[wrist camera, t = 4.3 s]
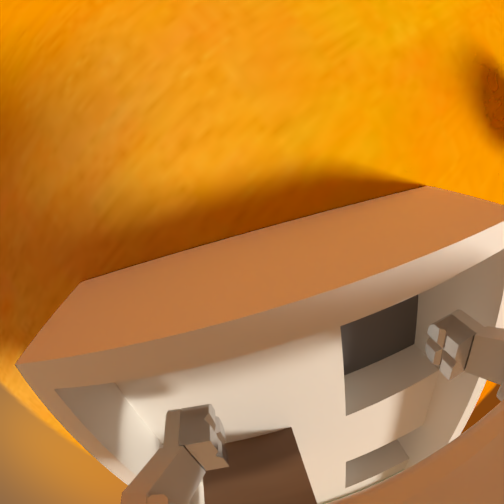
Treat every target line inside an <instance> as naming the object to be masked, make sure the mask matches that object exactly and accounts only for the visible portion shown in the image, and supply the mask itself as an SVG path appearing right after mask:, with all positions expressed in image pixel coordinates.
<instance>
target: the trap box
mask: <svg viewBox="0 0 504 504" xmlns="http://www.w3.org/2000/svg"><path fill="white" fill-rule="evenodd" d="M457 309H459V310H462V311H463V312H465V313H466V314H467V315H469V316H470V317H472V318H473V319H474V320H476V321H477V322H478V323H480V324H481V325H482V326H484V327H487V326H490V327H496V328H503V329H504V205H501V204H497V203H494V202H490V201H487V200H483V199H480V198H476V197H472V196H468V195H465V194H461V193H457V192H452V191H448V190H444V189H440V188H435V187H431V186H424V187H420V188H416V189H412V190H408V191H404V192H400V193H395V194H391V195H387V196H384V197H380V198H376V199H372V200H368V201H364V202H360V203H356V204H352V205H348V206H344V207H341V208H337V209H333V210H329V211H325V212H322V213H318V214H314V215H310V216H306V217H303V218H299V219H295V220H292V221H288V222H284V223H281V224H277V225H273V226H270V227H266V228H262V229H259V230H255V231H252V232H248V233H244V234H241V235H237V236H234V237H230V238H227V239H223V240H220V241H216V242H213V243H209V244H206V245H202V246H199V247H195V248H192V249H188V250H185V251H182V252H178V253H175V254H171V255H168V256H165V257H161V258H158V259H154V260H151V261H148V262H144V263H141V264H138V265H134V266H131V267H128V268H125V269H121V270H118V271H115V272H112V273H108V274H105V275H102V276H99V277H95V278H92V279H89V280H86V281H83V282H80V284H79V285H78V286H77V287H76V288H75V289H74V290H73V291H72V293H71V294H70V295H69V296H68V297H67V298H66V300H65V301H64V302H63V303H62V304H61V305H60V307H59V308H58V309H57V310H56V311H55V313H54V314H53V315H52V316H51V317H50V319H49V320H48V321H47V322H46V324H45V325H44V326H43V327H42V329H41V330H40V331H39V333H38V334H37V335H36V336H35V338H34V339H33V340H32V342H31V343H30V344H29V346H28V347H27V348H26V350H25V351H24V352H23V354H22V355H21V357H20V358H19V359H18V361H17V362H16V364H15V366H16V367H17V369H18V370H19V372H20V373H21V375H22V376H23V377H24V379H25V380H26V381H27V383H28V384H29V386H30V387H31V388H32V390H33V391H34V392H35V393H36V395H37V396H38V397H39V399H40V400H41V401H42V402H43V404H44V405H45V406H46V407H47V408H48V410H49V411H50V412H51V413H52V414H53V415H54V417H55V418H56V419H57V420H58V421H59V422H60V423H61V424H62V425H63V427H64V428H65V429H66V430H67V431H68V432H69V433H70V434H71V435H72V436H73V437H74V438H75V439H76V440H77V441H78V442H79V443H80V444H81V445H82V446H83V447H84V448H85V449H86V450H87V451H88V452H89V453H90V454H91V455H93V456H94V457H95V458H96V459H97V460H98V461H99V462H100V463H101V464H103V465H104V466H105V467H106V468H107V469H108V470H110V471H111V472H112V473H113V474H114V475H116V476H117V477H118V478H119V479H121V480H122V481H123V482H124V483H126V484H127V485H129V484H130V483H131V482H132V481H133V479H134V478H135V477H136V476H137V475H138V473H139V472H140V471H141V470H142V469H143V467H144V466H145V465H146V464H147V463H148V461H149V460H150V459H151V458H152V457H153V455H154V454H155V453H156V452H157V450H158V449H159V448H163V443H164V431H165V420H166V414H167V412H168V410H175V409H182V408H187V407H194V406H200V405H206V404H212V406H213V408H214V409H215V416H217V417H219V418H220V420H221V422H222V424H223V427H224V431H225V435H226V442H225V443H229V442H234V441H238V440H243V439H248V438H252V437H256V436H260V435H264V434H268V433H272V432H276V431H279V430H283V429H286V428H290V427H292V430H293V433H294V436H295V439H296V442H297V445H298V448H299V451H300V454H301V457H302V460H303V463H304V466H305V469H306V472H307V475H308V478H309V481H310V484H311V487H312V490H313V493H314V496H315V499H316V502H317V504H326V503H329V502H332V501H335V500H337V499H340V498H343V497H346V496H348V495H351V494H353V493H356V492H358V491H361V490H363V489H366V488H368V487H370V486H373V485H375V484H377V483H379V482H381V481H383V480H385V479H388V478H390V477H392V476H394V475H396V474H398V473H400V472H401V471H403V470H405V469H407V468H409V467H411V466H413V465H414V464H416V463H418V462H420V461H421V460H423V459H425V458H426V457H428V456H430V455H431V454H433V453H434V452H436V451H438V450H439V449H441V448H442V447H444V446H445V445H447V444H448V443H450V442H451V441H453V440H454V439H455V438H457V437H458V436H460V434H461V432H462V430H463V428H464V426H465V425H466V423H467V420H468V419H469V417H470V415H471V413H472V411H473V409H474V407H475V405H476V403H477V401H478V399H479V396H480V394H481V392H482V390H483V387H484V385H485V383H486V379H483V378H480V377H477V376H475V375H472V374H469V373H466V372H465V371H463V372H462V373H460V374H459V375H457V376H455V377H454V378H452V379H451V380H448V379H447V378H446V377H445V376H444V375H443V374H442V373H441V372H440V371H439V365H435V364H433V363H432V362H431V361H430V360H429V359H428V357H427V354H426V350H425V347H426V342H427V340H428V338H429V337H430V336H429V335H428V334H427V332H428V328H429V326H430V325H431V324H433V323H434V322H436V321H438V320H440V319H441V318H443V317H445V316H447V315H449V314H450V313H452V312H454V311H456V310H457ZM188 504H205V502H204V488H203V478H202V480H201V482H200V484H199V485H198V487H197V489H196V491H195V493H194V495H193V496H192V498H191V500H190V502H189V503H188Z"/></svg>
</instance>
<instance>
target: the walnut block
mask: <svg viewBox="0 0 504 504" xmlns="http://www.w3.org/2000/svg"><path fill="white" fill-rule="evenodd" d="M224 447H225V448H226V450H227V451H228V460H229V467H224V468H219V469H213V470H207V471H205V472H206V473H205V474H204V476H203V488H204V502H205V504H317V502H316V499H315V496H314V493H313V490H312V487H311V484H310V481H309V478H308V475H307V472H306V469H305V466H304V463H303V460H302V457H301V454H300V451H299V448H298V445H297V442H296V439H295V436H294V433H293V430H292V427H290V428H286V429H283V430H279V431H276V432H272V433H268V434H264V435H260V436H256V437H252V438H248V439H243V440H238V441H234V442H229V443H225V444H224Z"/></svg>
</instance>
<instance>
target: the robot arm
mask: <svg viewBox="0 0 504 504" xmlns="http://www.w3.org/2000/svg"><path fill="white" fill-rule="evenodd" d="M427 334H428V335H429V336H430V337H429V338H428V340H427V342H426V347H425V350H426V354H427V357H428V359H429V360H430V361H431V362H432V363H433V364H435V365H439V371H440V372H441V373H442V374H443V375H444V376H445V377H446V378H447V379H448V380H451V379H452V378H454V377H455V376H457V375H459V374H460V373H462V372H463V371H465V372H466V373H469V374H472V375H475V376H477V377H480V378H483V379H486V380H489V381H492V382H494V383H497V384H500V385H501V386H500V388H499V391H498V393H497V397H498V399H499V400H500V401H501V402H500V403H499V404H498V405H497V406H496V407H495V408H494V409H493V410H492V411H490V412H489V413H488V414H487V415H486V416H484V417H483V418H482V419H481V420H480V421H478V422H477V423H476V424H474V425H473V426H472V427H470V428H469V429H468V430H467V431H465V432H464V433H463V434H461V435H460V436H458V437H457V438H455V439H454V440H453V441H451V442H450V443H448V444H447V445H445V446H444V447H442V448H441V449H439V450H438V451H436V452H434V453H433V454H431V455H430V456H428V457H426V458H425V459H423V460H421V461H420V462H418V463H416V464H414V465H413V466H411V467H409V468H407V469H405V470H403V471H401V472H400V473H398V474H396V475H394V476H392V477H390V478H388V479H385V480H383V481H381V482H379V483H377V484H375V485H373V486H370V487H368V488H366V489H363V490H361V491H358V492H356V493H353V494H351V495H348V496H346V497H343V498H340V499H337V500H335V501H332V502H329V503H326V504H504V329H503V328H496V327H490V326H487V327H484V326H482V325H481V324H480V323H478V322H477V321H476V320H474V319H473V318H472V317H470V316H469V315H467V314H466V313H465V312H463V311H462V310H459V309H457V310H456V311H454V312H452V313H450V314H449V315H447V316H445V317H443V318H441V319H440V320H438V321H436V322H434V323H433V324H431V325H430V326H429V328H428V332H427ZM225 442H226V435H225V431H224V427H223V424H222V422H221V420H220V418H219V417H217V416H215V409H214V408H213V406H212V404H206V405H200V406H194V407H187V408H182V409H175V410H168V412H167V414H166V420H165V431H164V443H163V448H159V449H158V450H157V452H156V453H155V454H154V455H153V457H152V458H151V459H150V460H149V461H148V463H147V464H146V465H145V466H144V467H143V469H142V470H141V471H140V472H139V473H138V475H137V476H136V477H135V478H134V479H133V481H132V482H131V483H130V484H129V485H128V487H127V488H126V489H125V490H124V491H123V492H122V497H121V504H188V503H189V502H190V500H191V498H192V496H193V495H194V493H195V491H196V489H197V487H198V485H199V484H200V482H201V480H202V478H203V476H204V474H205V473H206V472H205V471H207V470H213V469H219V468H224V467H229V460H228V451H227V450H226V448H225V447H224V444H225Z"/></svg>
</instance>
